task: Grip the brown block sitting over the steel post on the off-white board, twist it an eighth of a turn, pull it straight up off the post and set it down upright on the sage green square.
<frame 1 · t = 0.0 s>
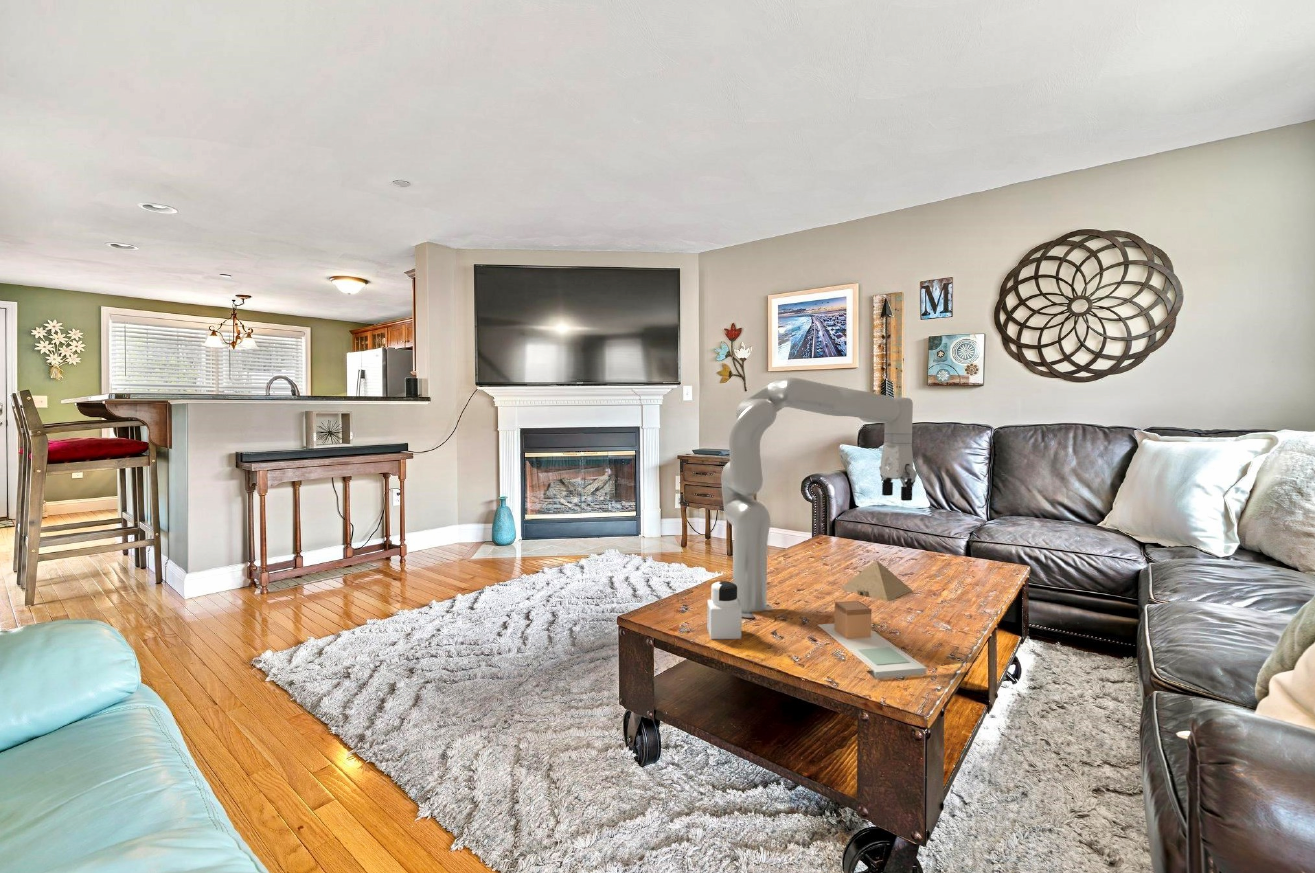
hand: (896, 497, 175), 31 cm above the table, tool pointing down, fingers open, 9 cm apart
model pyramid: (875, 591, 189), on the table
post board: (866, 650, 141), on the table
container: (723, 634, 152), on the table
brown block: (852, 633, 148), point 1 cm above the table, touching post board
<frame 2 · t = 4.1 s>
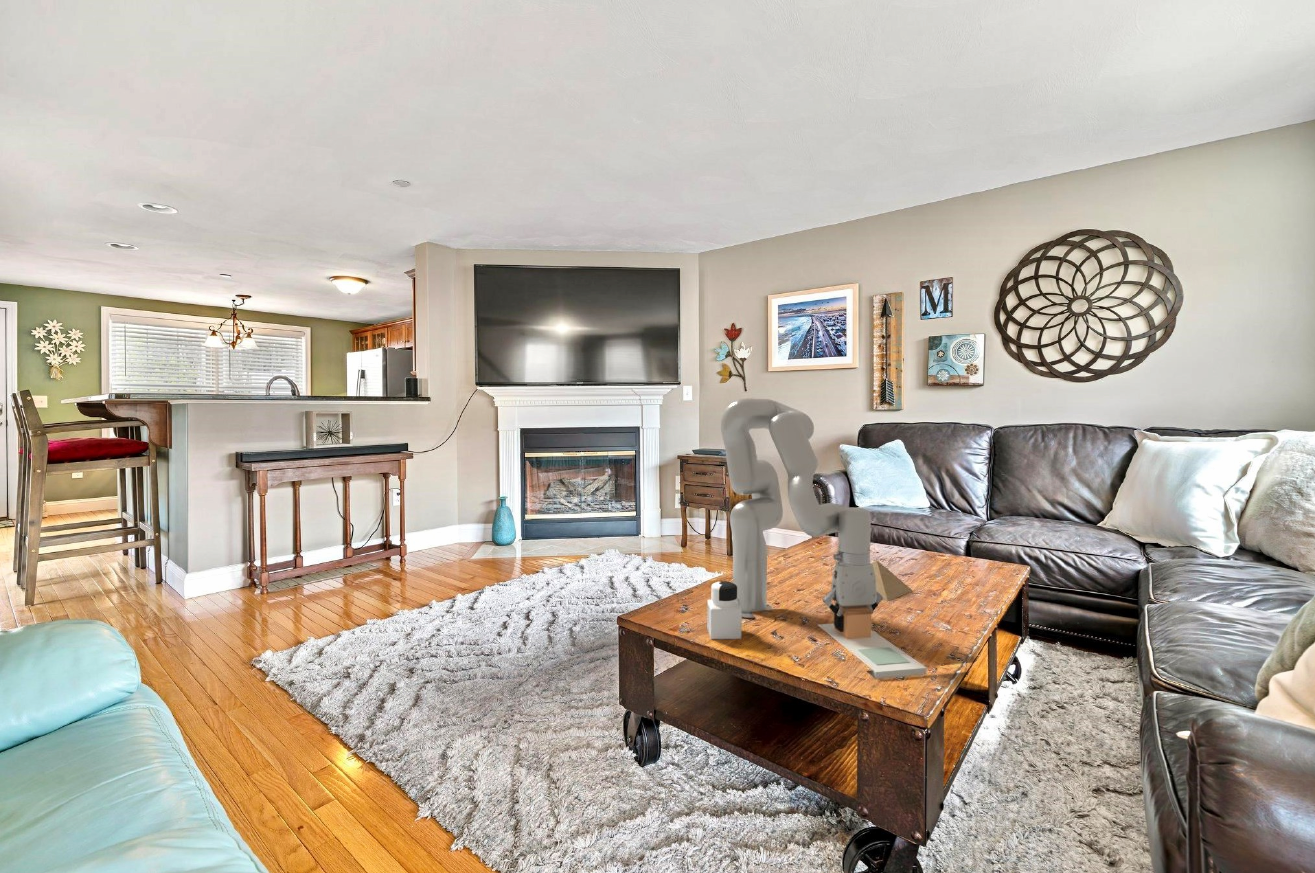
hand: (852, 628, 148), 3 cm above the table, tool pointing down, fingers closed on brown block, 6 cm apart
brown block: (852, 633, 148), point 1 cm above the table, touching gripper, post board
everything else where it was.
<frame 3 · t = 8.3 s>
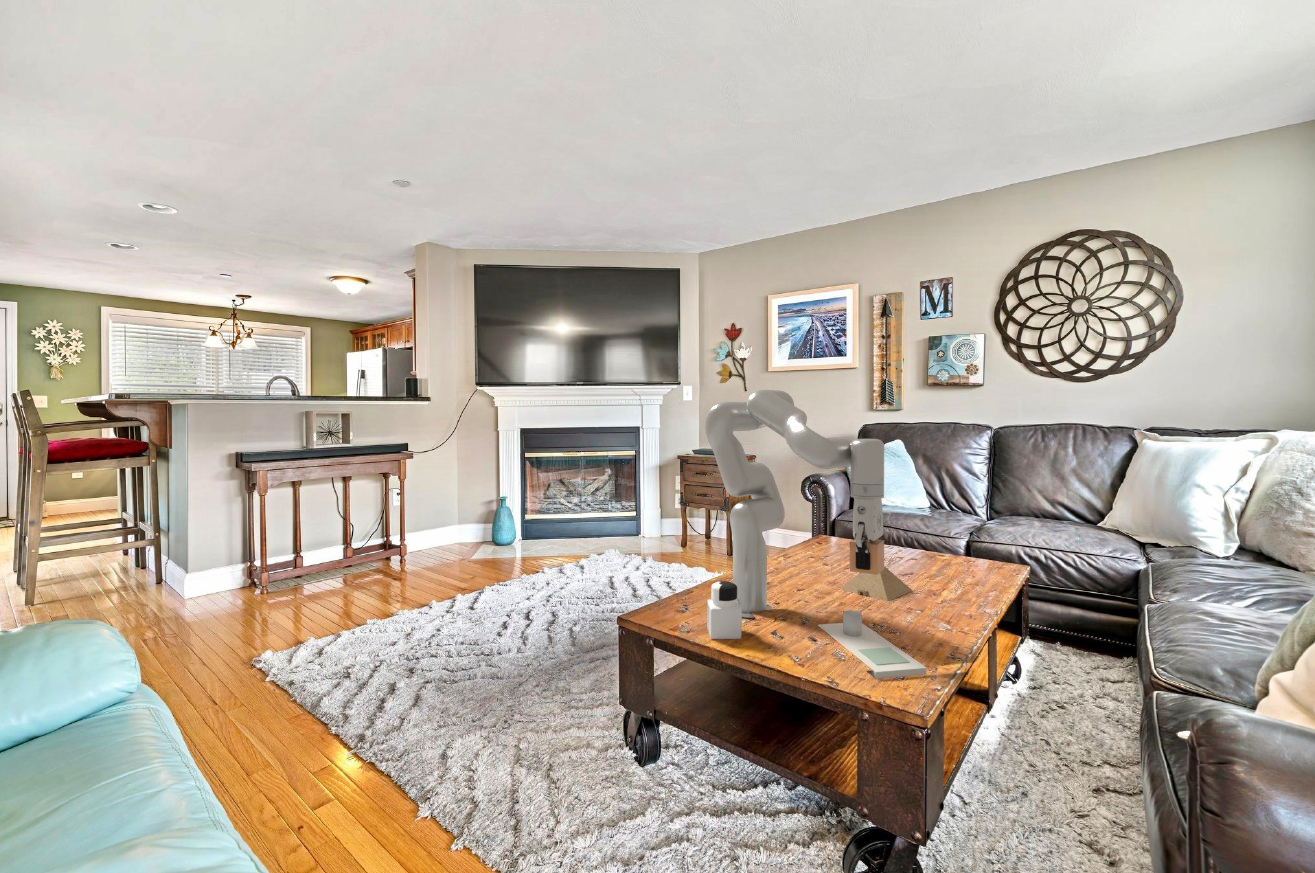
hand: (866, 565, 142), 20 cm above the table, tool pointing down, fingers closed on brown block, 6 cm apart
brown block: (867, 570, 142), point 19 cm above the table, touching gripper
everything else where it was.
when the fingers open (4 cm above the table, at t = 12.3 s): brown block drops 1 cm, resting on post board.
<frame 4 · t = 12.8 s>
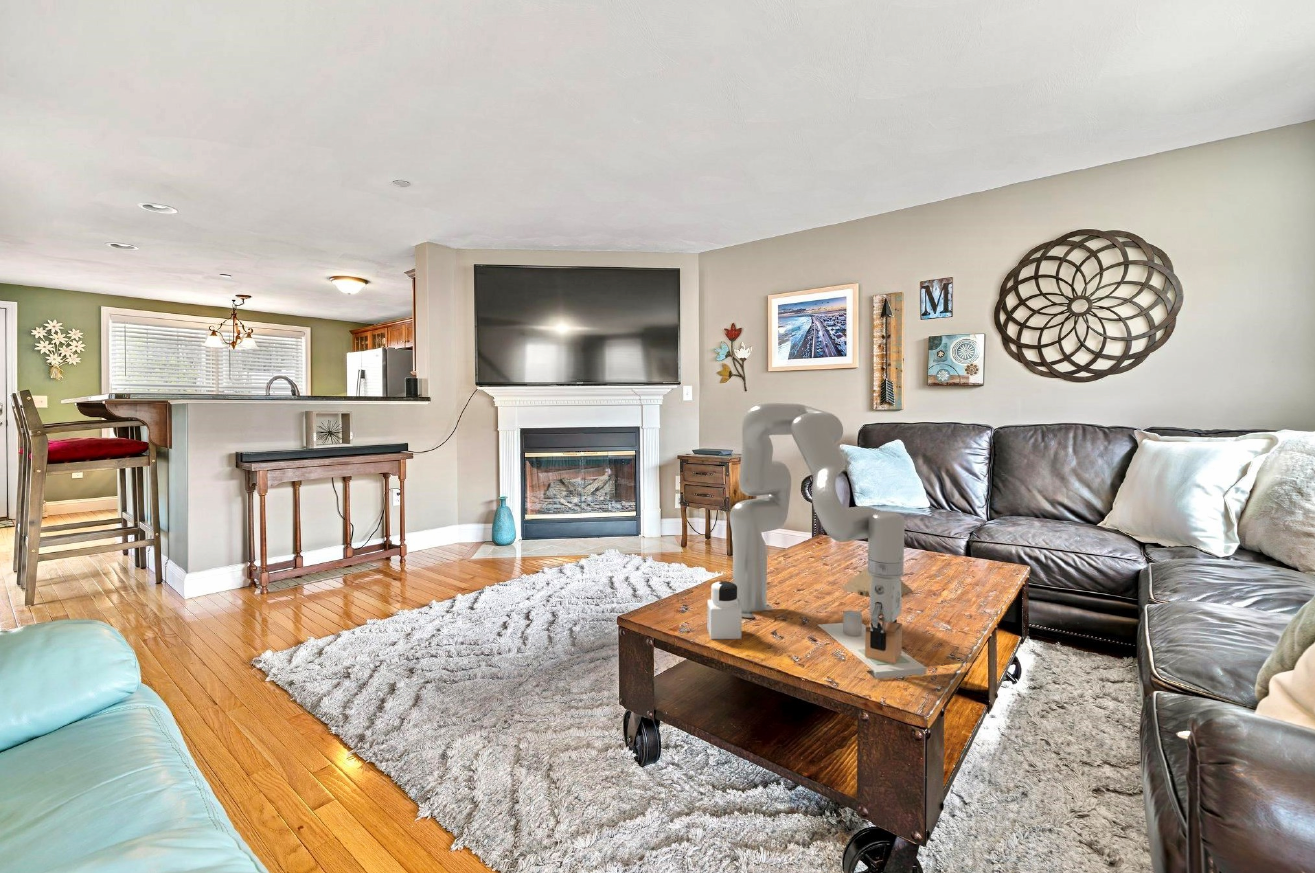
hand: (883, 641, 134), 5 cm above the table, tool pointing down, fingers open, 9 cm apart
brown block: (883, 655, 134), point 2 cm above the table, touching post board
everything else where it was.
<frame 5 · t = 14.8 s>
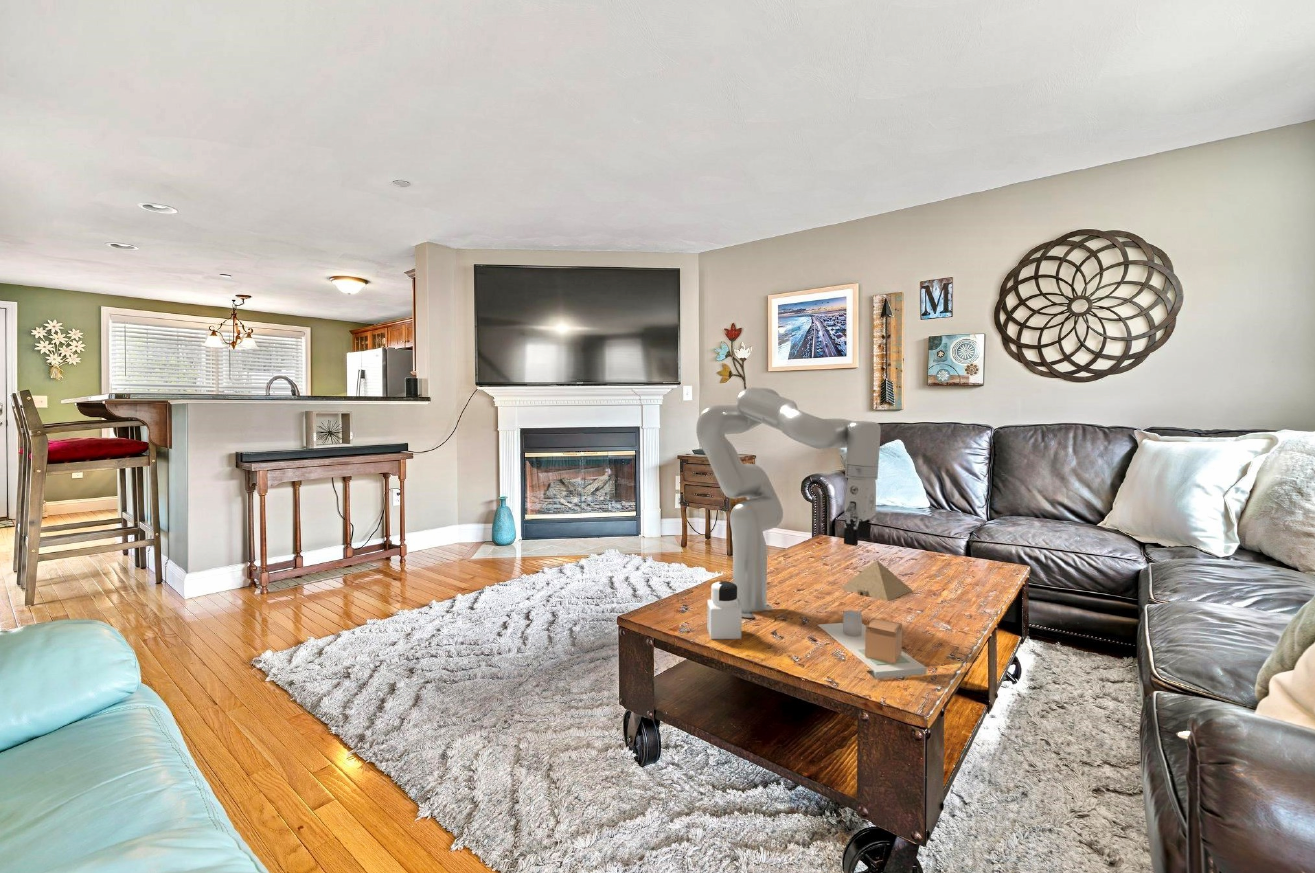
hand: (857, 541, 146), 25 cm above the table, tool pointing down, fingers open, 9 cm apart
nothing on the table moved.
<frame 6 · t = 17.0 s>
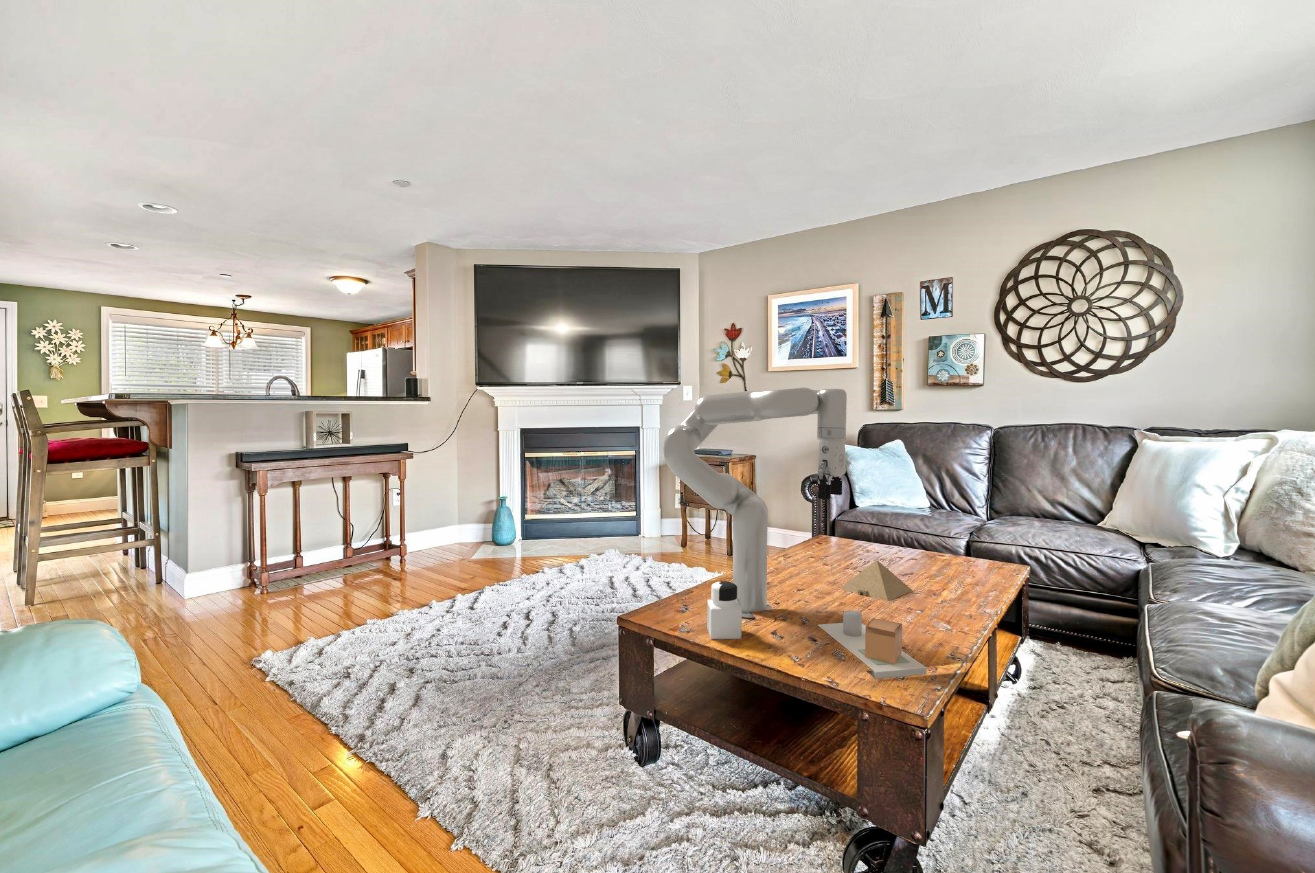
hand: (830, 496, 163), 33 cm above the table, tool pointing down, fingers open, 9 cm apart
nothing on the table moved.
at the end: brown block 0.0 cm from the target spot on the post board, point 1.7 cm above the post board's base; brown block tilted 0°; the gripper is holding nothing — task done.
